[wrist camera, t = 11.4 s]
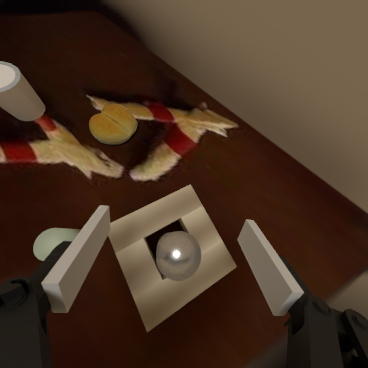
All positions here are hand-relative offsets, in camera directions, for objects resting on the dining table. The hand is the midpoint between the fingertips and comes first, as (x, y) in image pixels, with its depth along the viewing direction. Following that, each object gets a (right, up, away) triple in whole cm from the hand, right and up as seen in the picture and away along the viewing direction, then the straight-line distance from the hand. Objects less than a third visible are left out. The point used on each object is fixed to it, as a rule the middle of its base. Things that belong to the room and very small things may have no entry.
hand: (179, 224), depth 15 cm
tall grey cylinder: (-2, -7, +12) cm, 14 cm away
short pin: (-16, -6, +11) cm, 20 cm away
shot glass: (-31, +19, +16) cm, 40 cm away
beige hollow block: (-2, -7, +12) cm, 14 cm away
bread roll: (-14, +16, +18) cm, 28 cm away
